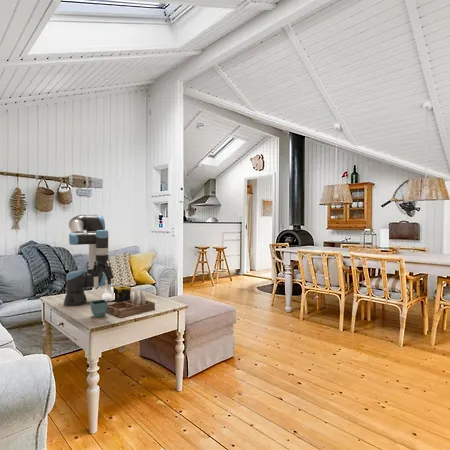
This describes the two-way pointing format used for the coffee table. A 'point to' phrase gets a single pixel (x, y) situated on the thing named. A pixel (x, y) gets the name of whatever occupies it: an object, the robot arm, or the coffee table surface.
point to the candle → (122, 293)
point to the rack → (131, 305)
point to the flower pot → (99, 308)
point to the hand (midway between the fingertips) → (102, 288)
